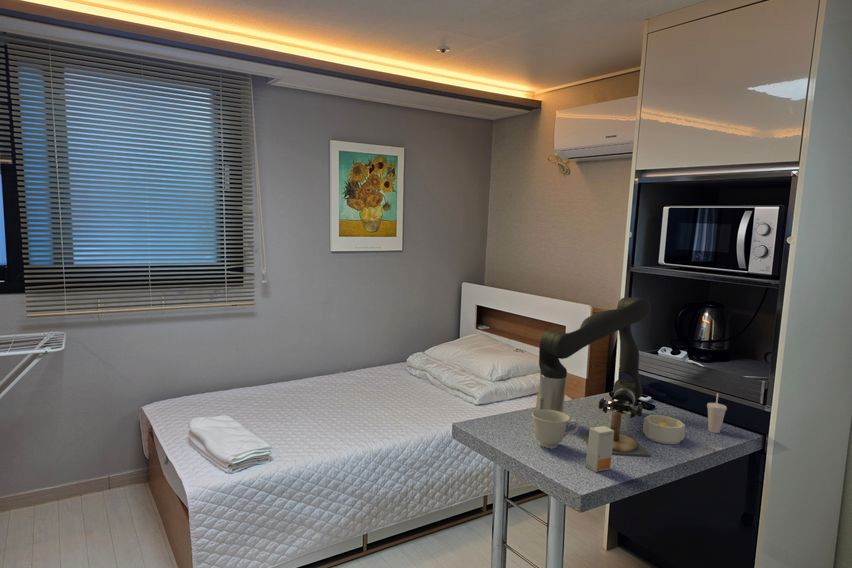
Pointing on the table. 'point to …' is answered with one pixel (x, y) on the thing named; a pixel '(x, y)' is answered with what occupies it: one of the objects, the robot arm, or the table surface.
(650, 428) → the bowl
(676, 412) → the table surface
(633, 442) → the lid
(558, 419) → the teacup
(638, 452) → the mat
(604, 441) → the skincare box
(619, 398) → the robot arm
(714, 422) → the smoothie
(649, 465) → the table surface
